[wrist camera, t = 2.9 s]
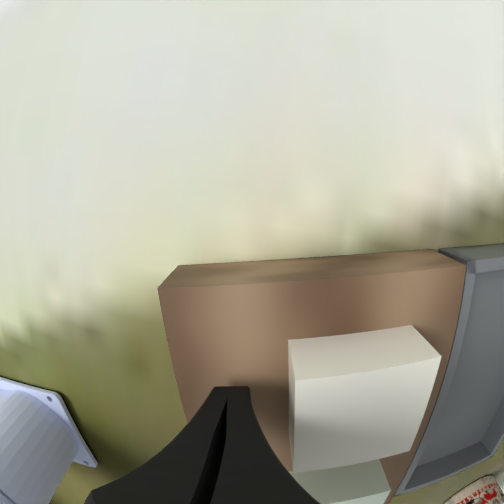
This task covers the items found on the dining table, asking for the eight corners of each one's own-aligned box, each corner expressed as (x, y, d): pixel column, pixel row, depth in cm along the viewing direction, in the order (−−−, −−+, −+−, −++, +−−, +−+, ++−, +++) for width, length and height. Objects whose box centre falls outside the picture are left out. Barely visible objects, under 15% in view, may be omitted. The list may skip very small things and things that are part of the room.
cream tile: (288, 431, 12) (292, 472, 9) (288, 339, 11) (295, 380, 8) (392, 415, 12) (409, 450, 9) (411, 325, 10) (441, 356, 8)
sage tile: (286, 509, 14) (289, 538, 11) (288, 471, 13) (291, 507, 10) (362, 497, 13) (370, 525, 11) (378, 457, 12) (390, 490, 10)
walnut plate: (224, 491, 17) (221, 521, 14) (178, 265, 13) (157, 288, 10) (379, 475, 17) (389, 503, 14) (431, 249, 13) (465, 265, 10)
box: (385, 474, 17) (393, 496, 14) (438, 248, 13) (467, 261, 10) (480, 439, 16) (492, 456, 14) (542, 240, 12) (567, 248, 10)
